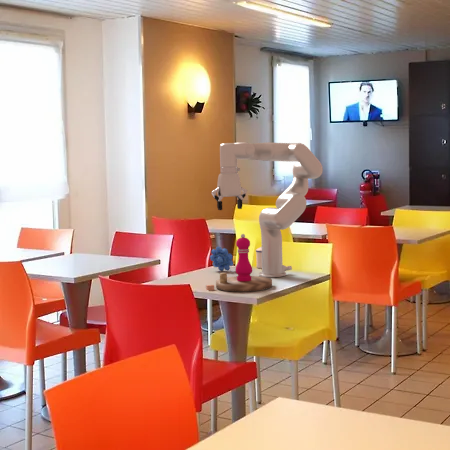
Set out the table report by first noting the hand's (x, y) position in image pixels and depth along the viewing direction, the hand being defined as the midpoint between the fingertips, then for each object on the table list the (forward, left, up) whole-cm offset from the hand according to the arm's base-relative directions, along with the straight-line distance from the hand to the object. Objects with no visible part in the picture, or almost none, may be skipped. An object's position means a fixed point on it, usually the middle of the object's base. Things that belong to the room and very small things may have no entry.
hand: (229, 209), depth 356 cm
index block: (+18, +15, -32) cm, 40 cm away
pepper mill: (+3, +18, -30) cm, 35 cm away
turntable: (+3, +18, -32) cm, 37 cm away
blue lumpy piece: (-8, -28, -32) cm, 44 cm away
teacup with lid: (-32, -27, -32) cm, 53 cm away
